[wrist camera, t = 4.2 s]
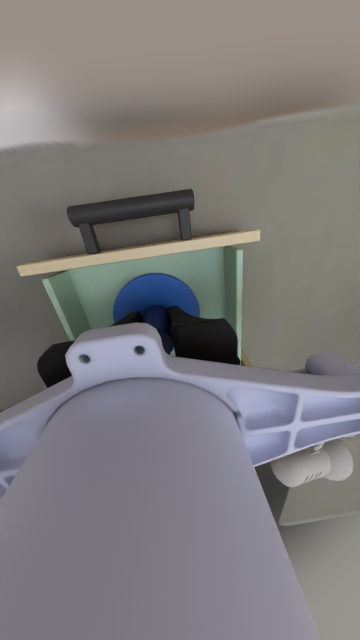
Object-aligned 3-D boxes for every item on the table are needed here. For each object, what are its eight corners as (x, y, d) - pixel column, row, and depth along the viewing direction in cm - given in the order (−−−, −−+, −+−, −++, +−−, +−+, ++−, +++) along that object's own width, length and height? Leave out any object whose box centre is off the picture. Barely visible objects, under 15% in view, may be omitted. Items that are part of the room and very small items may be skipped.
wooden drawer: (101, 382, 18) (89, 409, 15) (30, 219, 12) (-11, 215, 9) (238, 360, 18) (252, 383, 15) (240, 189, 12) (263, 175, 9)
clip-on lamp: (378, 375, 25) (283, 386, 19) (452, 411, 20) (352, 444, 14) (341, 435, 29) (252, 461, 23) (395, 480, 24) (296, 530, 17)
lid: (127, 354, 16) (114, 396, 12) (103, 279, 13) (75, 300, 9) (201, 343, 16) (214, 380, 12) (194, 266, 13) (208, 280, 9)
